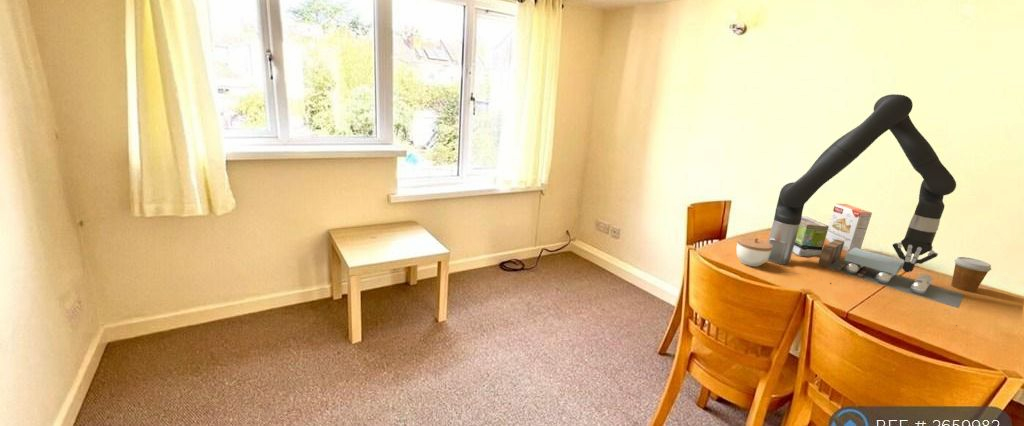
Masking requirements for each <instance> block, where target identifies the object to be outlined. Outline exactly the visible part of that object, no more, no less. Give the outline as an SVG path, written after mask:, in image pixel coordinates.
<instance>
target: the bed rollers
mask: <svg viewBox="0 0 1024 426" xmlns="http://www.w3.org/2000/svg"><path fill="white" fill-rule="evenodd" d="M893 277H894V274H891V273H887V272H884V271H880V272H879V273H878V274H877V275H876V277H875V279H876V281H877V282H878V283H880V284H879V285H881V284H886V283H888V282H889V281H890V280H891V279H892V278H893ZM914 280H915V281H914V283H913V284H912V285H911V287H910V290H911V292H912V293H914V294H917V295H921V294H923V293H925V291H926V290H927V288H928V287H929V285H932V283H933V280H934V279H933V277H932V276H931V275H930V274H928V273H921V274H919V275H918V276H917V277H916V279H914ZM917 295H916V296H917Z"/></svg>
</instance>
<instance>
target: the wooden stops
mask: <svg viewBox="0 0 1024 426" xmlns="http://www.w3.org/2000/svg"><path fill="white" fill-rule="evenodd" d="M844 242H845V241H841V240H837V239H836V240H834V241H833V242H831V243H829V244H827V245H826V246H825V245H823V248H822V251H821V255H820V256H819V259H818V263H817V266H818V267H822V268H825V269H826V268H827V267H829V266H830V265H832V264H833V263H835V262H836V261H838V260H839V259H841V255H842V253H843V252H842V249H843V246H844ZM849 263H850V262H849V261H845V262H843V263H842V264H841V265H839V266H838V267H836V270H838V271H841V270H842V269H844V268H845V266H846V265H847V264H849ZM827 269H828V268H827ZM871 269H872V268H870V267H866V268H864V269H863V270H862V271H861V272H860V273H858V275H857V277H856V278H858V277H861V278H862V277H863V276H864V275H866V274H867V273H868V272H869V271H870V270H871ZM838 271H837V272H838ZM861 278H860V279H861Z"/></svg>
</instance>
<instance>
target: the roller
mask: <svg viewBox="0 0 1024 426" xmlns="http://www.w3.org/2000/svg"><path fill="white" fill-rule="evenodd" d="M862 267H864V266H863V265H859V264H856V263H852V262H850V263H849V264H847V265H846V266H845V268H844V270H845V272H846V273H848V274H855V273H856V272H858V271H859V270H860V269H861V268H862ZM848 274H847V275H848Z"/></svg>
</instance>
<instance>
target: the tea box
mask: <svg viewBox="0 0 1024 426" xmlns="http://www.w3.org/2000/svg"><path fill="white" fill-rule="evenodd" d="M828 228H829V225H827V224H825V223H822V222H820V221H818V220H816V219H813V218H810V217H808V216H802V218H801V222H800V226H799V229H798V233H797V237H796V240H795V244H794V248H793V251H792V254H793V253H794V254H795V255H797V256H799V257H807V258H808V257H810V258H812V257H814V256H819V257H820V256H821V252H822V249H823V247H824V246H825V245H824V241H825V238H826V235H827V232H828Z"/></svg>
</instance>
